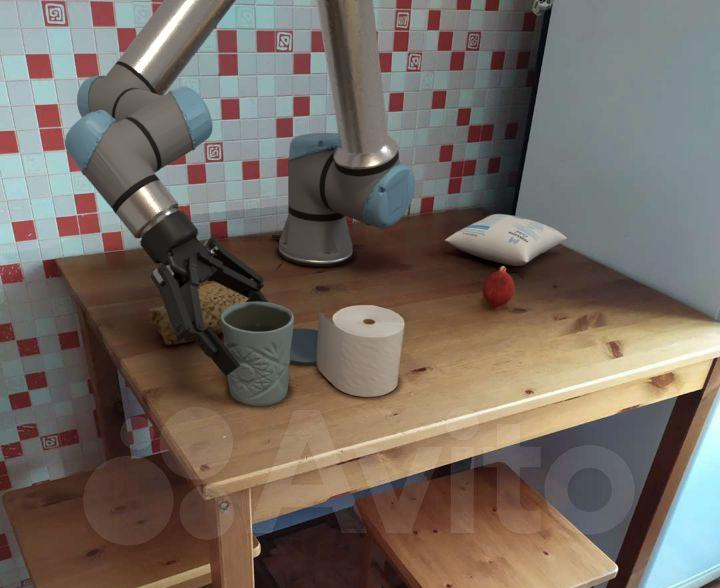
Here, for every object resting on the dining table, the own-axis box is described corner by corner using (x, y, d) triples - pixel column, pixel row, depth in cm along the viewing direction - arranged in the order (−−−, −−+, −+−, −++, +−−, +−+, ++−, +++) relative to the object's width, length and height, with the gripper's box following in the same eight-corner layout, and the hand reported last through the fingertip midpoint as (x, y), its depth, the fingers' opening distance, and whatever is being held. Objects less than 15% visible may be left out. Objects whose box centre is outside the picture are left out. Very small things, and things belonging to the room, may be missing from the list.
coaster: (255, 353, 121) (255, 350, 121) (288, 325, 130) (288, 322, 129) (321, 371, 118) (321, 368, 118) (350, 342, 127) (350, 338, 126)
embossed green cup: (237, 414, 107) (235, 336, 99) (214, 380, 114) (210, 305, 106) (303, 400, 111) (306, 325, 103) (277, 368, 118) (277, 296, 110)
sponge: (176, 363, 119) (286, 316, 126) (158, 317, 115) (273, 271, 121) (151, 341, 129) (254, 299, 136) (134, 298, 125) (241, 257, 131)
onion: (509, 316, 139) (518, 275, 134) (478, 312, 140) (486, 270, 135) (510, 304, 144) (519, 263, 139) (480, 299, 145) (488, 259, 140)
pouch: (493, 199, 170) (448, 216, 156) (571, 224, 162) (532, 244, 148) (485, 234, 174) (441, 254, 161) (561, 260, 167) (522, 282, 153)
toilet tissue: (405, 396, 114) (413, 335, 108) (327, 400, 111) (330, 338, 105) (388, 361, 122) (394, 303, 116) (315, 364, 120) (317, 305, 114)
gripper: (194, 215, 115) (281, 329, 120) (85, 269, 96) (194, 401, 101) (223, 186, 110) (312, 306, 115) (115, 236, 91) (228, 376, 96)
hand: (257, 350), depth 108 cm, fingers open, 13 cm apart
